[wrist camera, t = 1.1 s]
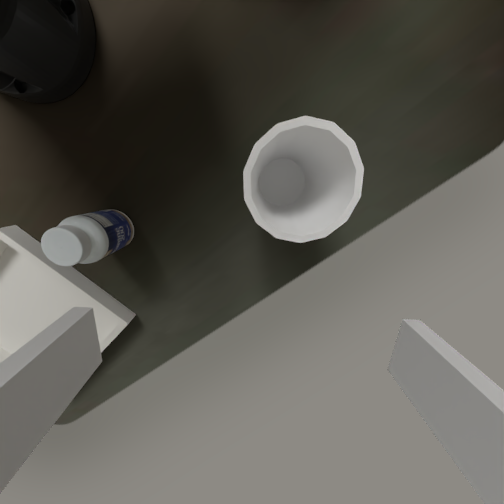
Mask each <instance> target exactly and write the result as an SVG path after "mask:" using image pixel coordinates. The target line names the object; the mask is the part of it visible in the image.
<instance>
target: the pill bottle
mask: <svg viewBox="0 0 504 504" xmlns="http://www.w3.org/2000/svg"><path fill="white" fill-rule="evenodd" d="M133 236H134V226H133V224H132V222H131V220H130V219H129V217H128V216H127V215H125V214H124V213H122V212H121V211H118V210H114V209H108V210H102V211H97V212H91V213H86V214H81V215H75V216H72V217H68V218H66V219H64V220H63V221H61V222H60V224H59V225H58V226H57V227H54V228H51V229H49V230H47V231H46V232H45V233H44V234H43V236H42V239H41V247H42V250H43V252H44V254H45V255H46V257H47V258H48V259H49V260H51V261H52V262H53V263H55V264H57V265H60V266H72V265H75V264H77V263H81V264H89V263H93V262H96V261H98V260H100V259H102V258H104V257H106V256H108V255H110V254H112V253H114V252H115V251H117V250H119V249H121V248H123V247H125V246H126V245H128V244H129V243H130V242H131V241H132V239H133Z"/></svg>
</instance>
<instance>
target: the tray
mask: <svg viewBox="0 0 504 504" xmlns="http://www.w3.org/2000/svg"><path fill="white" fill-rule="evenodd" d="M73 307H90V308H93V311H94V317H95V323H96V328H97V334H98V339H99V345H100V351H101V353H102V352H103V350H104V349H105V348H106V347H107V346H108V345H109V344H110V343H111V342H112V341H113V340H114V339H115V338H116V337H117V336H118V335H119V333H120V332H121V331H122V330H123V329H124V328H125V327H126V326H127V325H128V324H129V323H130V322H131V320H132V319H133V318H134V317H135V316H136V314H135V313H134V312H133V311H131V310H130V309H129V308H127V307H126V306H124V305H123V304H122V303H120V302H119V301H118V300H116V299H115V298H114V297H112V296H111V295H110V294H108V293H107V292H106V291H104V290H103V289H102V288H100V287H99V286H97V285H96V284H95V283H93V282H92V281H91V280H89V279H88V278H87V277H85V276H84V275H83V274H81V273H80V272H79V271H77V270H76V269H75V268H73V267H72V266H60V265H57V264H55V263H53V262H52V261H51V260H49V259H48V258H47V257H46V255H45V254H44V252H43V250H42V247H41V243H39V242H38V241H37V240H35V239H34V238H33V237H31V236H30V235H29V234H27V233H26V232H25V231H23V230H22V229H21V228H19V227H18V226H17V225H13V226H8V227H3V228H0V363H1V362H2V361H4V360H5V359H6V358H8V357H9V356H10V355H12V354H13V353H14V352H16V351H17V350H18V349H19V348H21V347H22V346H23V345H25V344H26V343H27V342H29V341H30V340H31V339H33V338H34V337H35V336H36V335H38V334H39V333H40V332H42V331H43V330H44V329H46V328H47V327H48V326H49V325H51V324H52V323H53V322H55V321H56V320H57V319H59V318H60V317H61V316H63V315H64V314H65V313H66V312H68V311H69V310H70V309H72V308H73Z"/></svg>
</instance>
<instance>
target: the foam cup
mask: <svg viewBox="0 0 504 504" xmlns="http://www.w3.org/2000/svg"><path fill="white" fill-rule="evenodd" d="M363 173H364V167H363V164H362V161H361V158H360V155H359V153H358V150H357V147H356V144H355V141H354V140H353V139H351V138H350V137H349V136H348V135H347V134H346V133H345V132H344V131H343V130H342V129H341V128H340V127H338V126H337V125H336V124H335V123H334V122H331V121H327V120H323V119H318V118H314V117H310V116H302V117H299V118H295V119H291V120H288V121H284V122H281V123H277V124H276V125H275V126H274V127H273V128H272V129H270V130H269V131H268V132H267V133H266V134H265V135H264V136H263V137H262V138H261V139H259V140H258V141H257V142H256V143H255V144H254V147H253V149H252V151H251V154H250V156H249V159H248V161H247V163H246V166H245V168H244V171H243V181H244V200H245V202H246V204H247V206H248V208H249V210H250V212H251V214H252V216H253V218H254V220H255V222H256V223H257V224H258V225H259V226H261V227H262V228H263V229H265V230H266V231H267V232H269V233H270V234H271V235H273V236H274V237H275V238H277V239H282V240H287V241H292V242H297V243H304V242H308V241H312V240H316V239H320V238H324V237H327V236H328V235H329V234H330V233H332V232H333V231H334V230H336V229H337V228H338V227H340V226H341V225H342V224H344V223H345V222H346V221H347V220H348V218H349V217H350V215H351V213H352V211H353V210H354V208H355V206H356V204H357V203H358V201H359V199H360V197H361V191H362V182H363Z"/></svg>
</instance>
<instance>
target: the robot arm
mask: <svg viewBox="0 0 504 504" xmlns="http://www.w3.org/2000/svg"><path fill="white" fill-rule="evenodd" d="M94 53H95V27H94V21H93V16H92V12H91V9H90V5H89V3H88V0H0V92H2V93H4V94H7V95H10V96H12V97H15V98H18V99H21V100H24V101H28V102H33V103H51V102H56V101H59V100H62V99H64V98H66V97H68V96H70V95H71V94H72V93H74V92H75V91H76V90H77V89H78V88H79V87H80V86H81V85H82V83H83V82H84V81H85V79H86V77H87V75H88V73H89V71H90V69H91V66H92V63H93V59H94ZM101 362H102V356H101V351H100V345H99V339H98V334H97V328H96V323H95V317H94V311H93V308H90V307H73V308H72V309H70V310H69V311H68V312H66V313H65V314H64V315H63V316H61V317H60V318H59V319H57V320H56V321H55V322H53V323H52V324H51V325H49V326H48V327H47V328H46V329H44V330H43V331H42V332H40V333H39V334H38V335H36V336H35V337H34V338H33V339H31V340H30V341H29V342H27V343H26V344H25V345H23V346H22V347H21V348H19V349H18V350H17V351H16V352H14V353H13V354H12V355H10V356H9V357H8V358H6V359H5V360H4V361H2V362H1V363H0V493H1V492H2V490H3V489H4V488H5V487H6V485H7V484H8V483H9V481H10V480H11V479H12V477H13V476H14V475H15V474H16V472H17V471H18V470H19V468H20V467H21V466H22V465H23V463H24V462H25V461H26V459H27V458H28V457H29V455H30V454H31V453H32V452H33V450H34V449H35V448H36V446H37V445H38V444H39V442H40V441H41V440H42V439H43V437H44V436H45V435H46V434H47V432H48V431H49V430H50V428H51V427H52V426H53V424H54V423H55V422H56V421H57V419H58V418H59V417H60V415H61V414H62V413H63V412H64V410H65V409H66V408H67V406H68V405H69V404H70V402H71V401H72V400H73V399H74V397H75V396H76V395H77V393H78V392H79V391H80V390H81V388H82V387H83V386H84V384H85V383H86V382H87V380H88V379H89V378H90V377H91V375H92V374H93V373H94V371H95V370H96V369H97V368H98V366H99V365H100V364H101ZM388 371H389V372H390V374H391V375H392V376H393V378H394V379H395V380H396V382H397V383H398V385H399V386H400V387H401V389H402V390H403V392H404V393H405V394H406V396H407V397H408V399H409V400H410V401H411V402H412V404H413V405H414V407H415V408H416V410H417V411H418V412H419V414H420V415H421V417H422V418H423V419H424V421H425V422H426V424H427V425H428V426H429V428H430V429H431V430H432V432H433V433H434V435H435V436H436V437H437V439H438V440H439V441H440V443H441V444H442V446H443V447H444V448H445V450H446V451H447V453H448V454H449V455H450V457H451V458H452V460H453V461H454V462H455V464H456V465H457V467H458V468H459V469H460V471H461V472H462V473H463V475H464V476H465V478H466V479H467V480H468V482H469V483H470V484H471V486H472V487H473V489H474V490H475V491H476V493H477V494H478V496H479V497H480V498H481V500H482V501H483V503H484V504H504V390H503V389H501V388H500V387H499V386H498V385H497V384H495V383H494V382H493V381H492V380H491V379H490V378H488V377H487V376H486V375H485V374H484V373H482V372H481V371H480V370H479V369H478V368H476V367H475V366H474V365H473V364H472V363H470V362H469V361H468V360H467V359H466V358H465V357H463V356H462V355H461V354H460V353H459V352H457V351H456V350H455V349H454V348H453V347H452V346H450V345H449V344H448V343H447V342H445V341H444V340H443V339H442V338H441V337H440V336H438V335H437V334H436V333H435V332H434V331H432V330H431V329H430V328H429V327H428V326H427V325H425V324H424V323H423V322H422V321H420V320H410V319H403V320H402V323H401V326H400V330H399V333H398V337H397V340H396V343H395V346H394V350H393V353H392V356H391V360H390V363H389V366H388Z"/></svg>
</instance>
